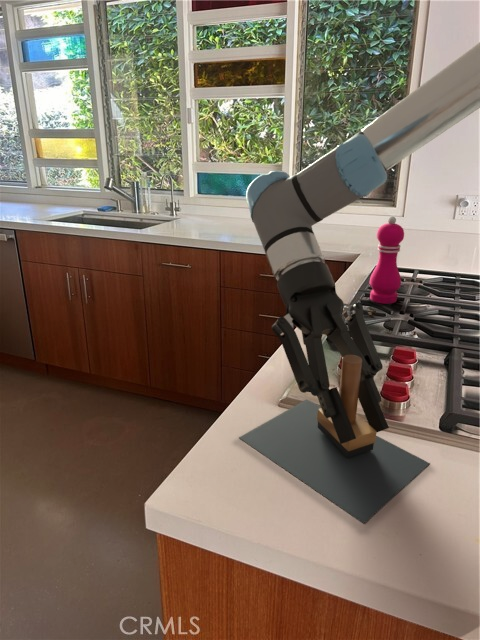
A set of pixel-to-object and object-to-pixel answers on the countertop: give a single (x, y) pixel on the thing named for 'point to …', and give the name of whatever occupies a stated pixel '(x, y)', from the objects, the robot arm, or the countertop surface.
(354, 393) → the scrub brush
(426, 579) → the countertop surface
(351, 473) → the mat
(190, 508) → the countertop surface
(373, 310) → the nutmeg
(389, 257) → the pepper mill
